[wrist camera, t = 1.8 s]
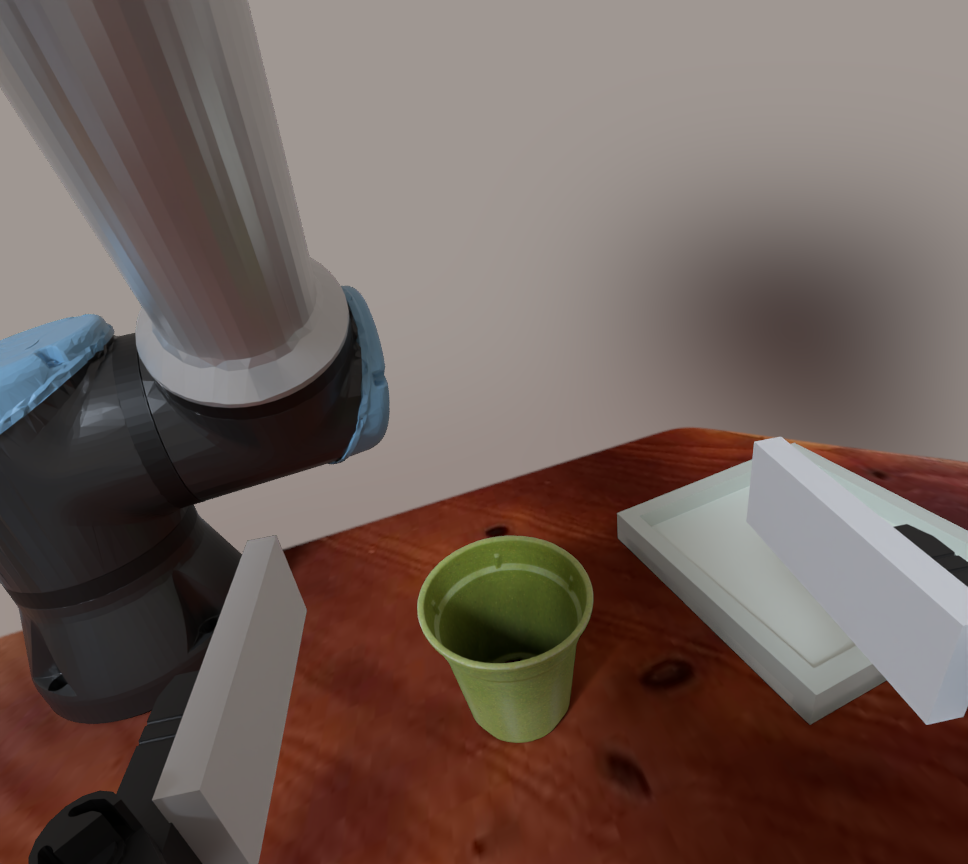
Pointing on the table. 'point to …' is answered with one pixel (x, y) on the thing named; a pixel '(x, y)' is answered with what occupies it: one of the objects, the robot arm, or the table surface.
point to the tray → (764, 582)
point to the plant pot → (509, 630)
